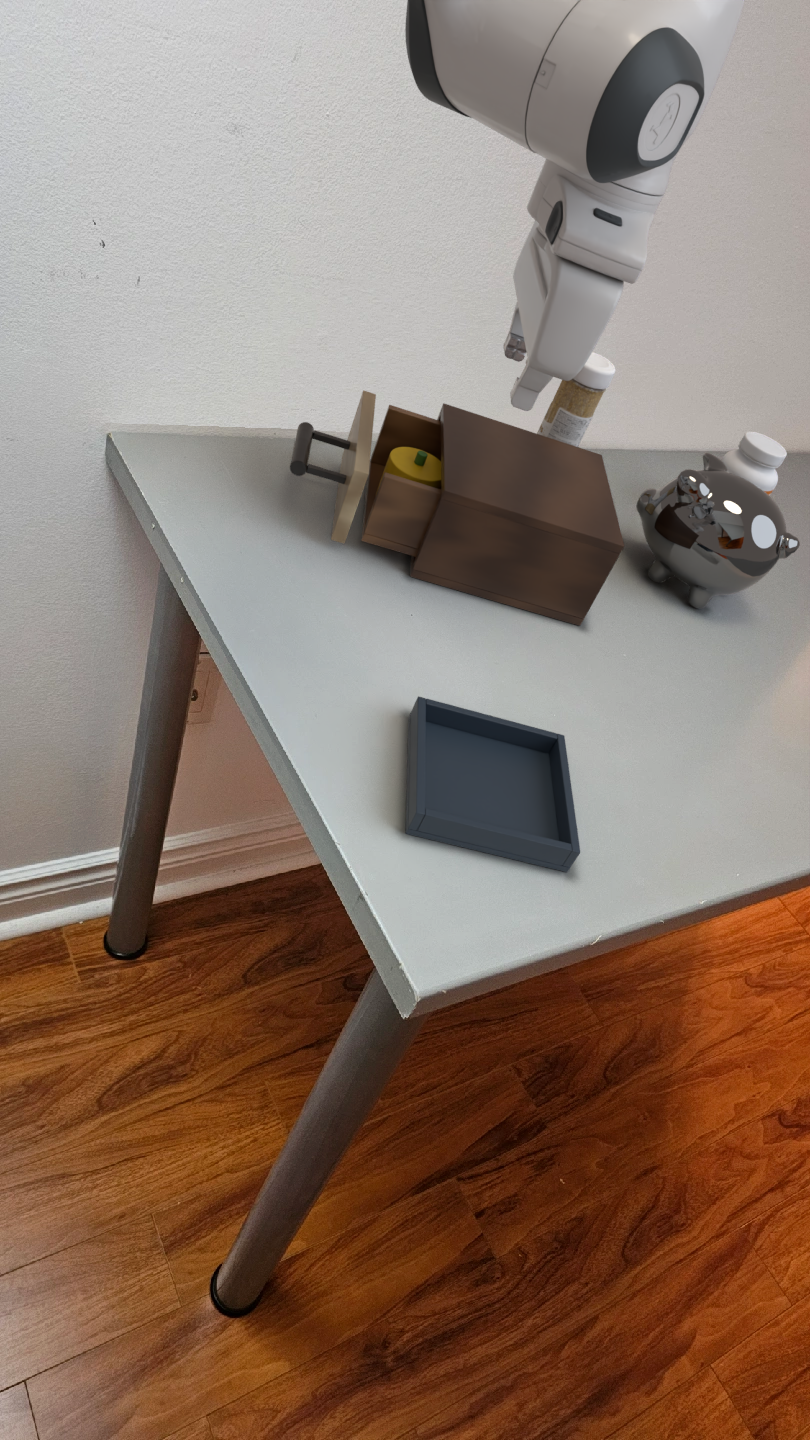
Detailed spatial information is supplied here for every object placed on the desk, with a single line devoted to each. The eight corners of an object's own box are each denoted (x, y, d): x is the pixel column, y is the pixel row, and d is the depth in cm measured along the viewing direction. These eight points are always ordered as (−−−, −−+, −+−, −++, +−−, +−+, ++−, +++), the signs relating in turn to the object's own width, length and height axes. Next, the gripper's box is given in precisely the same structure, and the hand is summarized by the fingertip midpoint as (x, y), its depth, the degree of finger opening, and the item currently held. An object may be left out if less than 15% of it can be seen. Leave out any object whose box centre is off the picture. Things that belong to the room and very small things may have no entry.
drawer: (275, 523, 86) (296, 451, 82) (292, 441, 97) (311, 373, 92) (494, 588, 90) (525, 522, 86) (488, 501, 101) (515, 439, 96)
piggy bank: (636, 524, 109) (690, 426, 102) (762, 602, 106) (828, 506, 99) (594, 559, 101) (650, 455, 94) (730, 644, 98) (799, 543, 90)
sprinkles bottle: (524, 461, 112) (578, 342, 103) (563, 479, 111) (620, 362, 103) (514, 477, 108) (569, 356, 100) (555, 496, 108) (613, 376, 99)
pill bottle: (736, 558, 111) (794, 468, 104) (682, 533, 111) (737, 441, 104) (738, 532, 116) (794, 445, 109) (687, 509, 116) (740, 420, 109)
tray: (405, 833, 67) (416, 812, 66) (408, 716, 75) (417, 695, 74) (567, 872, 69) (580, 852, 68) (552, 754, 78) (564, 734, 76)
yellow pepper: (374, 511, 90) (392, 458, 87) (376, 481, 94) (394, 429, 91) (431, 528, 91) (452, 477, 88) (431, 497, 95) (451, 447, 92)
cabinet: (409, 576, 89) (444, 490, 83) (412, 484, 100) (443, 402, 95) (580, 626, 92) (624, 546, 86) (563, 530, 103) (602, 454, 98)
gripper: (539, 155, 85) (474, 318, 93) (564, 237, 69) (484, 422, 78) (610, 184, 86) (540, 342, 95) (651, 270, 71) (562, 449, 79)
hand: (515, 379), depth 86 cm, fingers open, 8 cm apart
